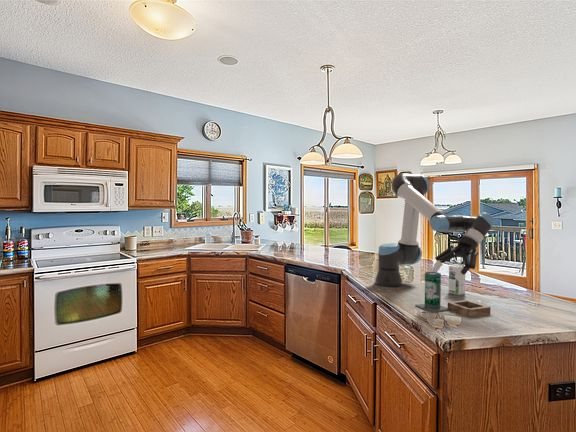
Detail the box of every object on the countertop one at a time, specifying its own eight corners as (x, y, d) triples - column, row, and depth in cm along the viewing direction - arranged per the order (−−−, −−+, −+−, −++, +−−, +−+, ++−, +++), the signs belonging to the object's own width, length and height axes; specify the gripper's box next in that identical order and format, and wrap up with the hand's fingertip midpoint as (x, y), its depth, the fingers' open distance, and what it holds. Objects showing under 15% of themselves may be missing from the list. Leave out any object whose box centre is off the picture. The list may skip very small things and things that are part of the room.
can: (422, 306, 145) (423, 273, 145) (428, 303, 149) (428, 271, 149) (436, 309, 141) (437, 275, 140) (442, 306, 145) (442, 273, 144)
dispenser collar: (447, 309, 144) (447, 302, 143) (467, 306, 147) (467, 299, 147) (470, 317, 133) (470, 309, 133) (490, 314, 137) (490, 307, 137)
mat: (415, 306, 148) (415, 304, 148) (432, 304, 151) (432, 302, 151) (432, 312, 138) (432, 311, 138) (450, 310, 142) (450, 308, 142)
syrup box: (447, 292, 172) (448, 265, 172) (456, 291, 174) (456, 264, 174) (456, 295, 167) (457, 267, 167) (465, 294, 169) (465, 266, 169)
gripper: (499, 249, 139) (472, 287, 135) (452, 243, 163) (428, 275, 158) (490, 237, 137) (462, 275, 133) (444, 233, 161) (419, 265, 157)
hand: (444, 275), depth 146 cm, fingers open, 13 cm apart
